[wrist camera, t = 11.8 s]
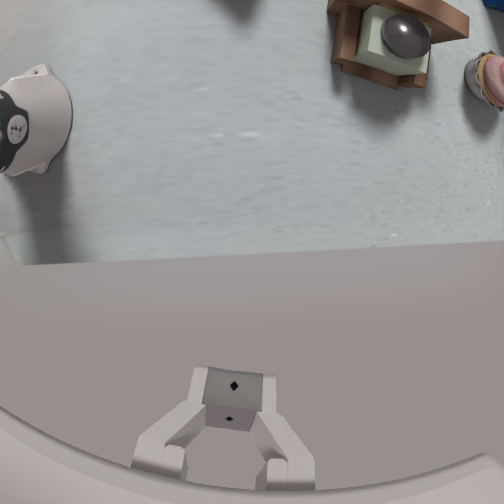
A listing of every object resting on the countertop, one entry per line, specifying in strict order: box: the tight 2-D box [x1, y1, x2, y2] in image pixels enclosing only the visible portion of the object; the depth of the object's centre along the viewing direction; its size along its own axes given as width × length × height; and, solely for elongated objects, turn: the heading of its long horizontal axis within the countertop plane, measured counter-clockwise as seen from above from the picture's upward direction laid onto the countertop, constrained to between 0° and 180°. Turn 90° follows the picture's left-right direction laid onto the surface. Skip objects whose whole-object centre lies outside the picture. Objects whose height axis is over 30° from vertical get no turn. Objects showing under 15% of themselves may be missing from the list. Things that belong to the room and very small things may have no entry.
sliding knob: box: [354, 4, 432, 76], centre depth 23 cm, size 7×6×10 cm
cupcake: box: [465, 50, 504, 112], centre depth 22 cm, size 9×9×10 cm
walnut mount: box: [327, 0, 469, 89], centre depth 22 cm, size 14×11×11 cm
